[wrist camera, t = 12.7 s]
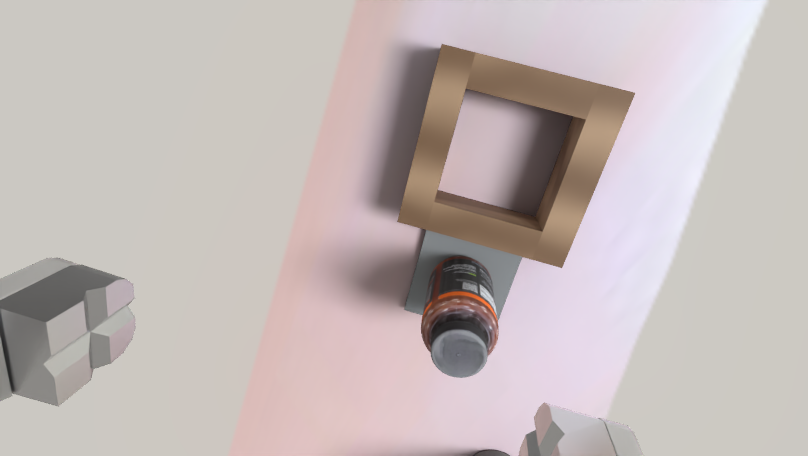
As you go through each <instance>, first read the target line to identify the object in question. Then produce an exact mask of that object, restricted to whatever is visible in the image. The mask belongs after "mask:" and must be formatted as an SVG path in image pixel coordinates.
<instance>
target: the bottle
mask: <svg viewBox="0 0 808 456" xmlns="http://www.w3.org/2000/svg"><path fill="white" fill-rule="evenodd" d="M474 456H509V455H508V454H506V453H504V452H501V451H496V450H486V451H482V452H479V453H477V454H475V455H474Z"/></svg>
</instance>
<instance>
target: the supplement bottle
mask: <svg viewBox="0 0 808 456" xmlns="http://www.w3.org/2000/svg"><path fill="white" fill-rule="evenodd" d="M421 334H422V338H423V341H424V343H425V345H426V347H427V349H428V350H429V351H430V352H431V357H432V360H433V362H434V364H435V365H436V367H437V368H438V369H439V370H440V371H442V372H443V373H445V374H447V375H449V376H453V377H460V378H462V377H469V376H472V375H474V374H476V373H478V372H479V371H480V370H481V369H482V368H483V367H484V365H485V364H486V361H487V357H488V355H489V354H490V353H491V352H492V351H493V349H494V348H495V345H496V343H497V339H498V320H497V313H496V306H495V298H494V291H493V283H492V279H491V276H490V274H489V272H488V270H487V269H486V268H485V267H484V265H482V264H481V263H480V262H479V261H476V260H475V259H472V258H469V257H465V256H455V257H451V258H448V259H445V260H444V261H442V262H440V263H439V264H438V265H437V266H436V267H435V268H434V270H433V272H432V273H431V276H430V279H429V283H428V289H427V294H426V300H425V305H424V311H423V316H422V323H421Z"/></svg>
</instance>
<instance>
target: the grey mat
mask: <svg viewBox="0 0 808 456" xmlns="http://www.w3.org/2000/svg"><path fill="white" fill-rule="evenodd" d="M455 256H465V257H469V258H472V259H475V260H476V261H479V262H480V263H481V264H482V265H484V267H485V268H486V269H487V270H488V272H489V274H490V276H491V279H492V283H493V291H494V298H495V306H496V313H497V320H499V317H500V314H501V312H502V309H503V306H504V304H505V301H506V298H507V296H508V293H509V290H510V288H511V285H512V282H513V280H514V277H515V274H516V272H517V269H518V266H519V264H520V261H521V259H522V257H521V256H518V255H514V254H511V253H507V252H504V251H500V250H496V249H493V248H489V247H486V246H482V245H479V244H475V243H472V242H468V241H464V240H461V239H457V238H454V237H450V236H447V235H443V234H439V233H436V232H432V231H429V230H426V233H425V237H424V241H423V244H422V248H421V251H420V255H419V258H418V262H417V266H416V269H415V273H414V276H413V280H412V284H411V287H410V291H409V294H408V298H407V301H406V305H405V309H404V310H407V311H410V312H414V313H417V314H420V315H423V311H424V305H425V300H426V294H427V289H428V283H429V279H430V276H431V273H432V272H433V270H434V268H435V267H436V266H437V265H438V264H439V263H440V262H442V261H444V260H445V259H448V258H451V257H455Z"/></svg>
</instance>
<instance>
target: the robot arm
mask: <svg viewBox="0 0 808 456" xmlns="http://www.w3.org/2000/svg"><path fill="white" fill-rule="evenodd" d="M133 299H134V289H133V284H132V283H131V282H130V281H128V280H127V279H125V278H121V277H118V276H115V275H112V274H109V273H106V272H103V271H100V270H97V269H93V268H90V267H87V266H84V265H79V264H76V263H73V262H70V261H67V260H64V259H60V258H46V259H44V260H41V261H39V262H37V263H35V264H32V265H30V266H28V267H26V268H24V269H21V270H19V271H17V272H14V273H12V274H10V275H8V276H6V277H3V278H1V279H0V401H1V400H4V399H6V398H9V397H11V396H12V393H13V394H17V395H20V396H24V397H27V398H31V399H34V400H38V401H41V402H45V403H48V404H52V405H55V406H59V405H60V404H62V403H63V402H64V401H65V400H67V399H68V398H69V397H70V396H72V395H73V394H74V393H75V392H77V391H78V390H79V389H80V388H81V387H83V386H84V385H85V384H86V383H88V382H89V381H90V380H91V378H92V373H93V369H95V368H98V367H101V366H104V365H107V364H110V363H112V362H113V361H114V360H115V359H117V358H118V357H119V356H120V355H121V354H122V353H123V352H124V351H125V349H126V348H127V346H128V345H129V343H130V342H131V340H132V338H133V334H134V331H135V316H134V315H133V313H132V312H131V310H130V309H129V307H128V305H129V304H130V303H131V302H132V300H133ZM534 420H535V427H536V430H535V431H533V432H531V433H529V434H527V435H526V436H525V438H524V440H523V443H522V445H521V447H520V452H519V456H644V454H643V452H642V450H641V448H640V445H639V443H638V441H637V438H636V436H635V434H634V432H633V431H632V430H631V428H629V426H628V425H624V424H620V423H617V422H613V421H609V420H606V419H602V418H596V417H592V416H589V415H586V414H582V413H579V412H575V411H572V410H568V409H565V408H561V407H558V406H554V405H551V404H547V403H543V404H542V405H541V406H540V407H539V409H538V411H537V413H536V415H535V417H534Z"/></svg>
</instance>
